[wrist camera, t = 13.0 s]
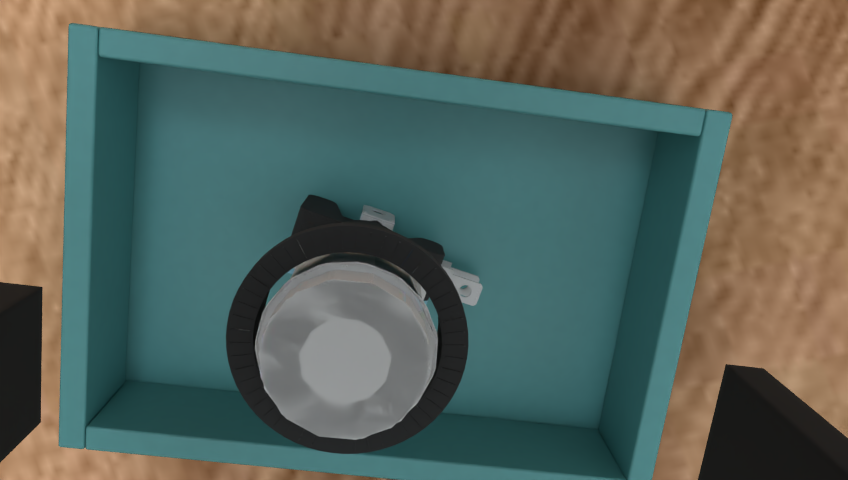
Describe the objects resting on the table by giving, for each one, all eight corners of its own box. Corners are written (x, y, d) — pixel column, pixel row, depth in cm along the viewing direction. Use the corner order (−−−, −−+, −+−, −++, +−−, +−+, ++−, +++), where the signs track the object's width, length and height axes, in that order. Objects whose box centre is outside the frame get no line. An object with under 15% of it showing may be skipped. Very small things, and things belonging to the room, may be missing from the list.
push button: (501, 214, 25) (571, 305, 15) (447, 353, 26) (479, 523, 16) (313, 148, 24) (257, 199, 14) (265, 295, 25) (184, 436, 15)
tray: (679, 106, 25) (734, 113, 21) (610, 442, 27) (647, 504, 23) (122, 31, 23) (67, 22, 19) (108, 390, 26) (57, 447, 22)
